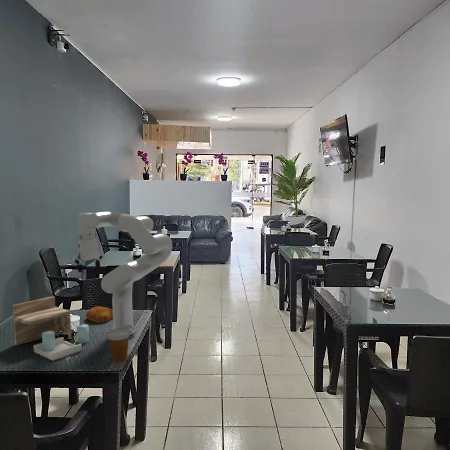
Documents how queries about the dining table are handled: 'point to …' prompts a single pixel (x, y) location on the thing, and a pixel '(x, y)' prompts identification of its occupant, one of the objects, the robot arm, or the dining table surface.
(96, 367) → the dining table surface
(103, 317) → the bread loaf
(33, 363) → the dining table surface
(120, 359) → the disposable coffee cup
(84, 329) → the pale blue cylinder
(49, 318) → the wooden stand
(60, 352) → the tray
